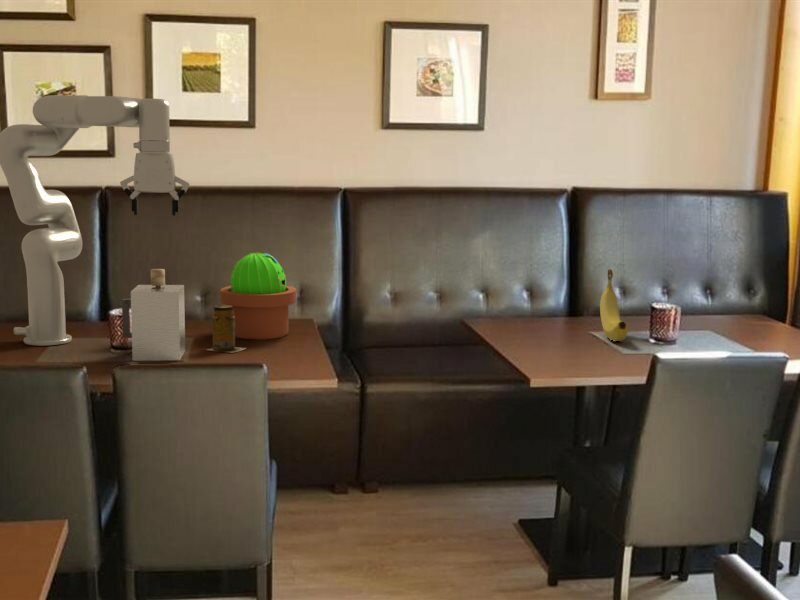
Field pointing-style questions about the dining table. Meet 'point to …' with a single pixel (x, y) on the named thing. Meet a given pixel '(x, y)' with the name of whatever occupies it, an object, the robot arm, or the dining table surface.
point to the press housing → (155, 322)
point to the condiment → (224, 329)
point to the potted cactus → (259, 297)
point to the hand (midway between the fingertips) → (155, 214)
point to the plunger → (157, 278)
